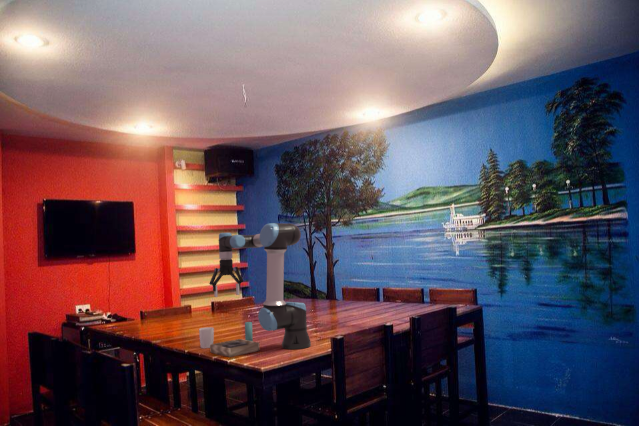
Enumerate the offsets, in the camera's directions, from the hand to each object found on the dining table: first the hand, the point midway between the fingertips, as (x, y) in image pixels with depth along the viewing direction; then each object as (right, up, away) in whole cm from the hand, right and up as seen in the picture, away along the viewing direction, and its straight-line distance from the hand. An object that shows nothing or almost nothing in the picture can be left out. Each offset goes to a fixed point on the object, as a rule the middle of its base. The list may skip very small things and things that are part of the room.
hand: (227, 295), depth 272 cm
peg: (+15, -24, -15) cm, 32 cm away
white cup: (-8, -25, -18) cm, 31 cm away
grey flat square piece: (+10, -23, -32) cm, 41 cm away
